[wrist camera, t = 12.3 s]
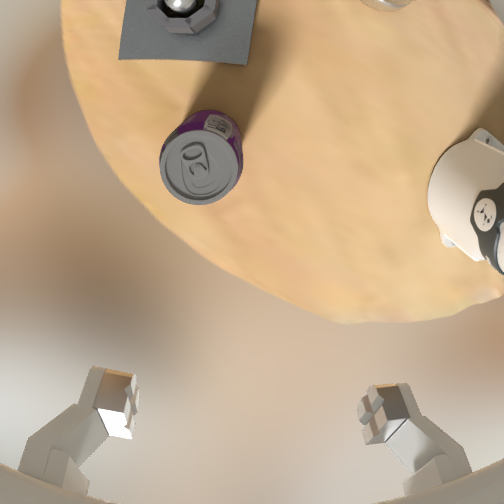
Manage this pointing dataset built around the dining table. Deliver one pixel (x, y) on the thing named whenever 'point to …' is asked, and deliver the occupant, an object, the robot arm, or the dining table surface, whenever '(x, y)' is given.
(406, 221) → the dining table surface
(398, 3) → the plastic bottle
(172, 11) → the post stand
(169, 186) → the beverage can
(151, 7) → the octagonal nut
